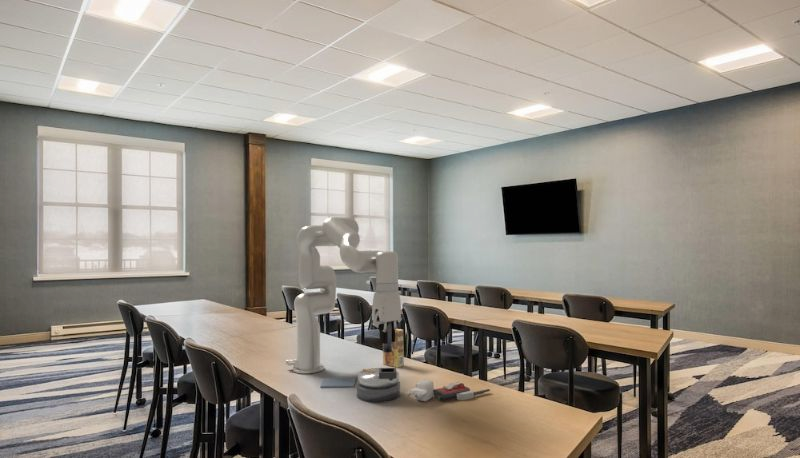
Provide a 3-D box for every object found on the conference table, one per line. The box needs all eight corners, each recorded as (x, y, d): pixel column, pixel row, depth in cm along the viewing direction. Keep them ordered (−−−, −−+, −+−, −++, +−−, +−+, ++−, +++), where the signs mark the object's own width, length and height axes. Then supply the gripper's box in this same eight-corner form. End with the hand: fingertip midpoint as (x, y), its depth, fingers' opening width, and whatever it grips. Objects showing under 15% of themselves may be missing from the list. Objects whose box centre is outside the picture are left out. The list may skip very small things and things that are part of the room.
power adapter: (417, 407, 148) (417, 389, 148) (405, 404, 151) (404, 386, 151) (435, 398, 157) (435, 380, 157) (423, 395, 160) (423, 378, 160)
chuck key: (381, 351, 158) (381, 321, 158) (387, 349, 160) (387, 320, 160) (387, 352, 156) (387, 322, 156) (393, 351, 158) (393, 321, 158)
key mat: (320, 387, 169) (320, 386, 169) (323, 379, 179) (323, 377, 179) (353, 387, 169) (353, 385, 169) (355, 379, 179) (355, 377, 179)
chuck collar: (356, 389, 153) (356, 373, 153) (358, 376, 167) (358, 362, 167) (399, 388, 154) (399, 373, 154) (397, 376, 168) (397, 362, 168)
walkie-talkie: (444, 406, 151) (491, 395, 161) (444, 392, 151) (491, 382, 161) (429, 398, 158) (475, 388, 169) (429, 385, 158) (475, 375, 169)
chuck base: (355, 403, 153) (355, 390, 153) (357, 388, 168) (357, 377, 168) (401, 402, 153) (401, 389, 153) (399, 387, 168) (399, 376, 168)
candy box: (404, 365, 197) (404, 329, 198) (397, 367, 194) (397, 330, 195) (388, 362, 203) (388, 326, 204) (382, 364, 200) (382, 328, 200)
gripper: (395, 285, 167) (396, 337, 166) (361, 289, 155) (362, 344, 154) (411, 286, 162) (411, 340, 161) (377, 290, 150) (378, 348, 149)
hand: (387, 341), depth 158 cm, fingers closed on chuck key, 3 cm apart
